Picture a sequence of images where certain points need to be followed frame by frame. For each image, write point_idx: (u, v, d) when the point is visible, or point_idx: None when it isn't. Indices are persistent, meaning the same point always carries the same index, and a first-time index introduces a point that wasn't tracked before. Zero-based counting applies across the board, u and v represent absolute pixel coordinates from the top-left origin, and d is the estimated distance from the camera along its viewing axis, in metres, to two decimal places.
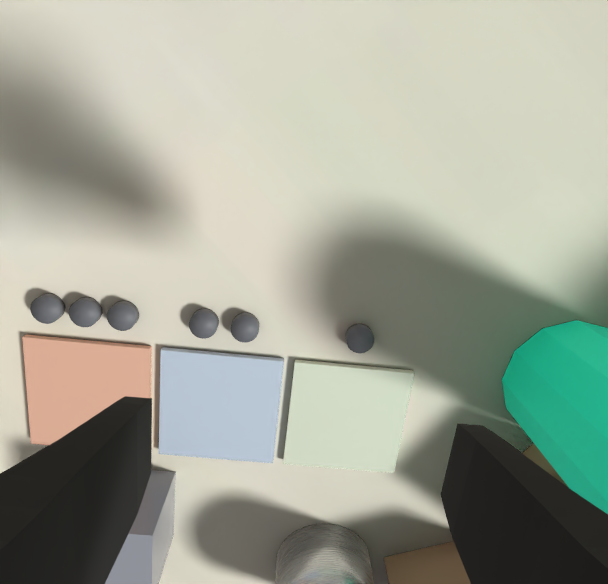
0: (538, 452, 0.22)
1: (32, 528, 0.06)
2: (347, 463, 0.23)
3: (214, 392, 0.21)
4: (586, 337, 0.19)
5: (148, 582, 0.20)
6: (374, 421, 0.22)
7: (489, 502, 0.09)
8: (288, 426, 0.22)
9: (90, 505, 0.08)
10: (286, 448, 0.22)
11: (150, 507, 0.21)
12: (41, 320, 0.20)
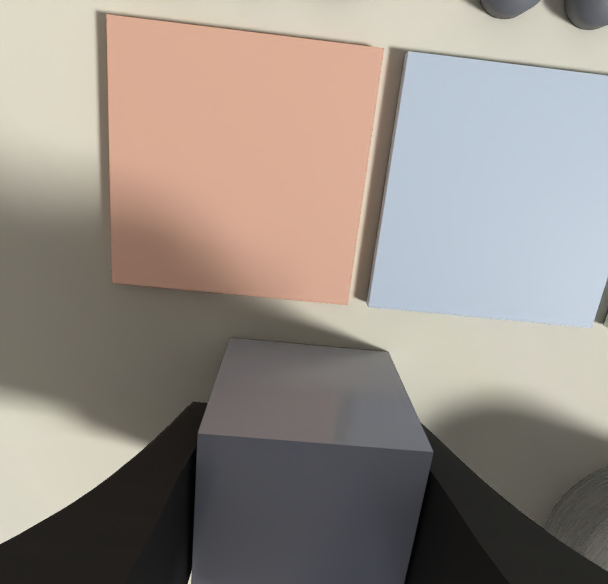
0: None
1: (154, 536, 0.06)
2: None
3: (506, 161, 0.10)
4: None
5: (399, 569, 0.09)
6: None
7: None
8: None
9: (182, 512, 0.08)
10: None
11: (386, 402, 0.09)
12: None
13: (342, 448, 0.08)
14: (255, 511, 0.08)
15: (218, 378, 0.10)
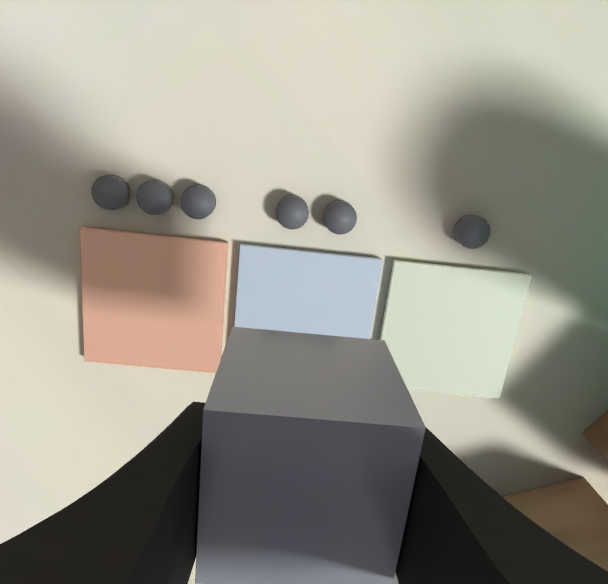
0: None
1: (153, 537, 0.06)
2: (447, 386, 0.20)
3: (299, 298, 0.18)
4: None
5: (394, 542, 0.09)
6: (481, 335, 0.19)
7: (412, 496, 0.09)
8: None
9: (182, 511, 0.08)
10: None
11: (381, 385, 0.10)
12: (103, 205, 0.17)
13: (339, 424, 0.08)
14: (257, 486, 0.09)
15: (221, 362, 0.10)
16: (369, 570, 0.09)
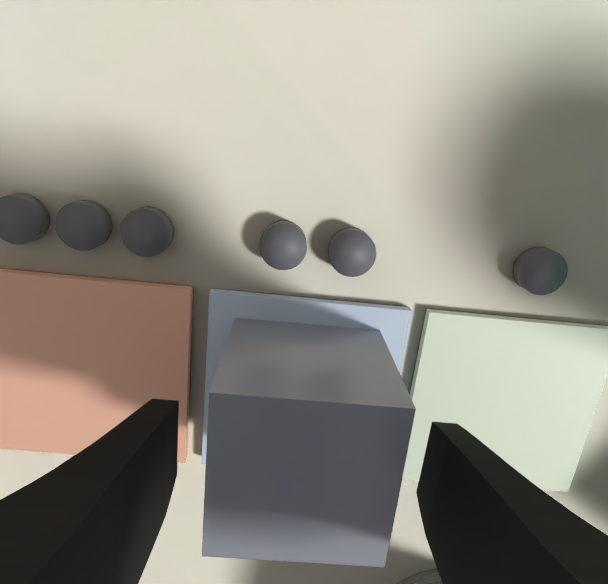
0: None
1: (81, 531, 0.06)
2: None
3: None
4: None
5: (387, 517, 0.10)
6: (547, 411, 0.14)
7: (459, 500, 0.09)
8: None
9: (127, 508, 0.08)
10: None
11: (376, 370, 0.10)
12: (9, 238, 0.12)
13: (335, 404, 0.09)
14: (259, 464, 0.09)
15: (225, 350, 0.11)
16: (365, 543, 0.10)
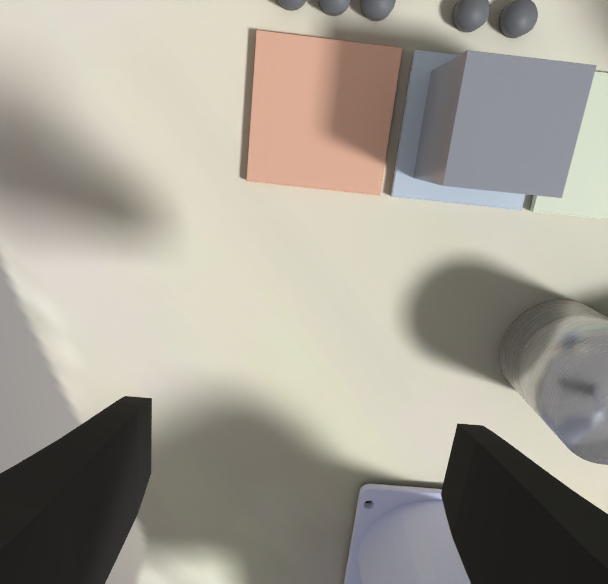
0: None
1: (33, 528, 0.06)
2: (607, 211, 0.19)
3: None
4: None
5: (568, 154, 0.15)
6: None
7: (489, 502, 0.09)
8: None
9: (90, 505, 0.08)
10: None
11: None
12: (284, 2, 0.17)
13: (546, 61, 0.14)
14: (491, 108, 0.14)
15: (449, 61, 0.16)
16: (551, 177, 0.15)
